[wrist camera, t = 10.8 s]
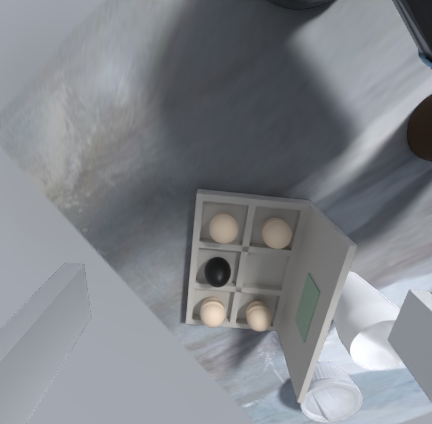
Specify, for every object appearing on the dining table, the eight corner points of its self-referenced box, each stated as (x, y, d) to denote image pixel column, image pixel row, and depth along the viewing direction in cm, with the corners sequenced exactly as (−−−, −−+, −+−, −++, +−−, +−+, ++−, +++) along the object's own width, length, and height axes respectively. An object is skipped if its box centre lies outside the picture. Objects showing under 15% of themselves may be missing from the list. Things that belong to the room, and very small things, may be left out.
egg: (227, 251, 41) (229, 269, 36) (232, 272, 42) (234, 292, 37) (202, 255, 41) (200, 274, 36) (208, 277, 42) (207, 297, 38)
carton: (197, 188, 38) (187, 229, 25) (310, 200, 39) (357, 246, 26) (186, 314, 47) (175, 393, 34) (279, 322, 47) (303, 402, 34)
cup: (321, 313, 47) (355, 378, 35) (310, 274, 43) (342, 330, 32) (372, 299, 45) (424, 361, 34) (364, 257, 42) (417, 310, 31)
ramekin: (282, 383, 53) (288, 411, 48) (316, 348, 50) (327, 374, 45) (325, 401, 55) (335, 430, 50) (360, 369, 52) (375, 396, 47)
